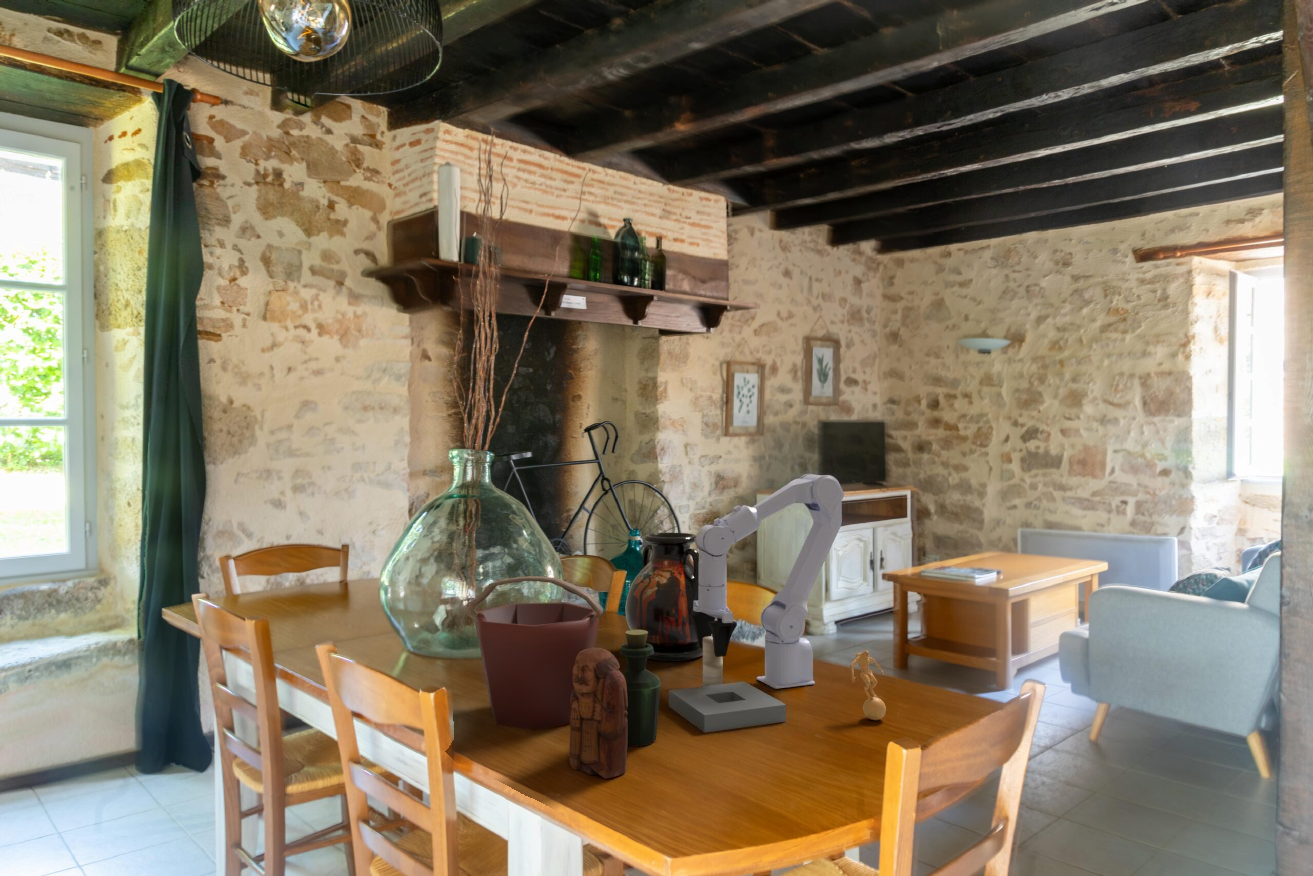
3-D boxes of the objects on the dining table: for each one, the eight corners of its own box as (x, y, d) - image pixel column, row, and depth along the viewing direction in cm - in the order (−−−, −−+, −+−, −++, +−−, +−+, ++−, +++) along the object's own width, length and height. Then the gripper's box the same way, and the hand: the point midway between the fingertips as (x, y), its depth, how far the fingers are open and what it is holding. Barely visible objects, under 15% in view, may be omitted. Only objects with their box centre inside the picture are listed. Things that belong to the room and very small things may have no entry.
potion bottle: (665, 733, 148) (665, 628, 148) (655, 750, 140) (655, 638, 140) (619, 730, 149) (619, 626, 149) (606, 746, 141) (606, 636, 141)
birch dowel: (717, 684, 178) (717, 635, 178) (725, 689, 174) (725, 639, 174) (699, 686, 176) (699, 637, 176) (708, 691, 172) (707, 641, 173)
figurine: (867, 727, 151) (867, 658, 151) (841, 718, 156) (841, 651, 156) (898, 718, 156) (898, 651, 156) (872, 709, 161) (872, 645, 161)
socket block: (744, 697, 169) (744, 681, 169) (786, 721, 154) (786, 704, 154) (668, 706, 163) (668, 690, 163) (704, 732, 148) (704, 715, 148)
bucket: (445, 724, 153) (445, 582, 153) (511, 690, 173) (511, 566, 173) (569, 741, 144) (569, 591, 144) (622, 704, 164) (622, 572, 164)
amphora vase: (606, 653, 204) (606, 534, 204) (672, 639, 218) (672, 528, 218) (668, 671, 188) (668, 542, 188) (736, 655, 202) (735, 535, 203)
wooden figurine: (555, 762, 134) (555, 646, 134) (586, 752, 139) (586, 640, 139) (606, 783, 126) (606, 660, 126) (637, 771, 130) (637, 652, 131)
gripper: (680, 580, 180) (680, 645, 180) (710, 591, 167) (709, 662, 167) (710, 578, 183) (710, 643, 183) (742, 589, 170) (742, 658, 169)
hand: (712, 652), depth 175 cm, fingers open, 7 cm apart
